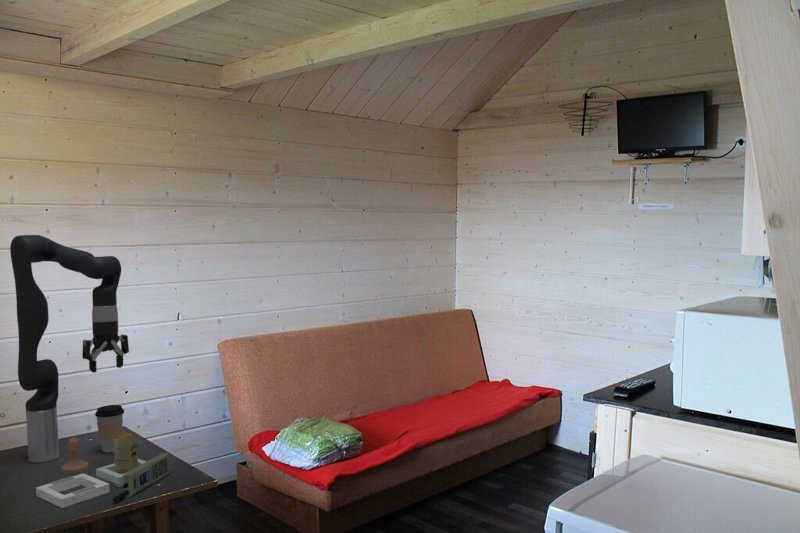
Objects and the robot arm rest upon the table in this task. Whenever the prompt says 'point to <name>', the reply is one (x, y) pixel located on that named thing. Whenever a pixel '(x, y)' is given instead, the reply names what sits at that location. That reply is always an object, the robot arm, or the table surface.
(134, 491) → the handheld radio
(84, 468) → the door knob
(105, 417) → the coffee cup
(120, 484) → the tray
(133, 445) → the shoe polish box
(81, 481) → the holder
